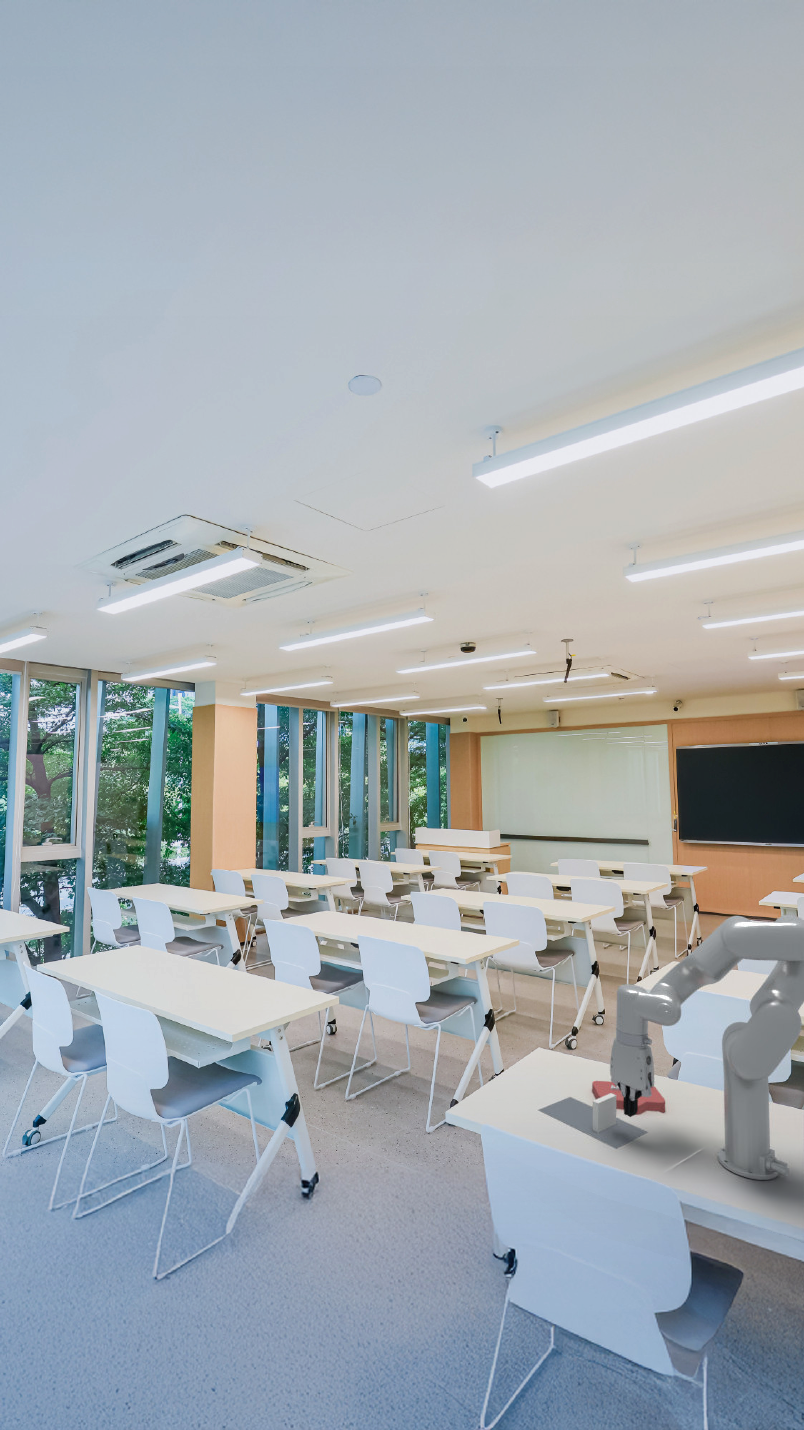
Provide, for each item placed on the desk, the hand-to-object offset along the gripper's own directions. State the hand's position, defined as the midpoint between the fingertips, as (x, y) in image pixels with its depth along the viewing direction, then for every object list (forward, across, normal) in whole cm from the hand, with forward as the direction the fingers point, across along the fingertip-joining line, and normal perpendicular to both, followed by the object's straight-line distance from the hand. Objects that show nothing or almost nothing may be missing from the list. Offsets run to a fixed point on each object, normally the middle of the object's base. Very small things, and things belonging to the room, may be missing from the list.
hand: (630, 1114), depth 167 cm
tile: (+6, +8, 0) cm, 10 cm away
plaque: (+7, +12, -19) cm, 23 cm away
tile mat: (+7, +12, 0) cm, 13 cm away
